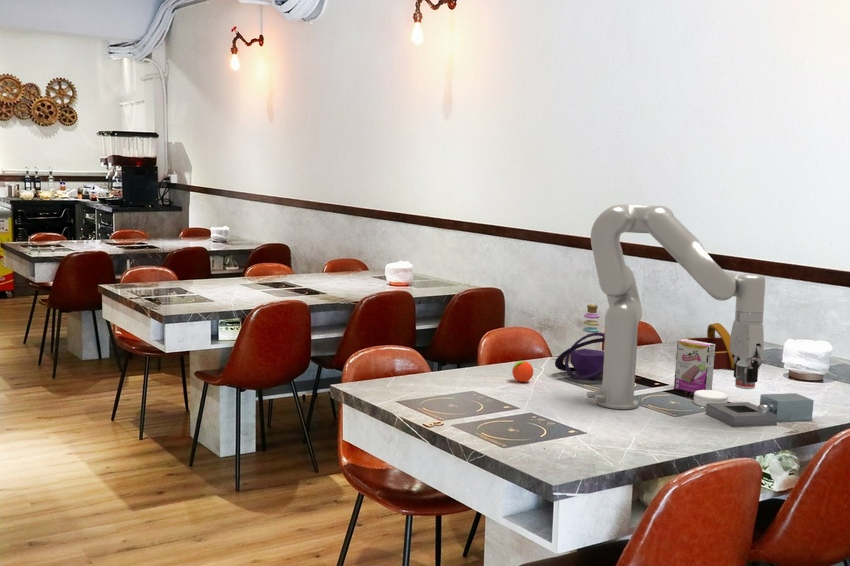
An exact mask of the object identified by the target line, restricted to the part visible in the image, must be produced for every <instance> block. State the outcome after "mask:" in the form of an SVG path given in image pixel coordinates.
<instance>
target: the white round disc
mask: <svg viewBox="0 0 850 566" xmlns="http://www.w3.org/2000/svg"><path fill="white" fill-rule="evenodd" d="M693 395H694V396H693V403H694V405H696V406H697V405H698V406H699V407H703V408H706V404H707V403H729V396H728V394H727V393H726V392H725V393H724V392H723V391H718V390H714V389H712V390H698V391H696V392H694V393H693Z"/></svg>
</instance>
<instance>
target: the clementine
mask: <svg viewBox="0 0 850 566" xmlns="http://www.w3.org/2000/svg"><path fill="white" fill-rule="evenodd" d="M511 372H512V377H513V378H514V379H515V380H516V381H517V382H520V383H526V382H528V381H530V380H531V379H532V378H533V375H534V368H533V366H532V365H531V363H529V361H525V360H521V361H517V362H516V363H515V364H514V365H513V368H512V371H511Z"/></svg>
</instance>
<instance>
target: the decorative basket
mask: <svg viewBox="0 0 850 566" xmlns="http://www.w3.org/2000/svg"><path fill="white" fill-rule="evenodd" d="M716 332H717V334H718V335H719V336H720V337H716ZM706 333H707V335H706V336H707V337H686V338H685V337H684V338H682V339H688V340H694V341H699V342H705V343H711V344H715V356H714V368H713V370H728V369H730V368H731V370H734V363H733V360H734V359H733V357H732V354H731V352H730V338H731V334H730V333H729V331H728V330H727V329H726V328H725V327H724V326H723V325H722V324H721V323H719V322H715V323H711V324H709V325H708V326H707V330H706ZM754 361H755V360H753V362H754Z"/></svg>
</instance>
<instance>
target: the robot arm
mask: <svg viewBox="0 0 850 566" xmlns="http://www.w3.org/2000/svg"><path fill="white" fill-rule="evenodd" d="M623 233H631V234H649V235H650V236H652V237H653V239H654V240H655V241H656V242H657V243H659V245H661V247H662V248H664V250H665V251H666V252H668V254H669V255H670V256H671V257H672V258H674V260H675V261H676V262H677V263H678V264H679V266H681V268H683V269H684V270H685V271H686V272H687V273H688V275H690V277H691V278H693V280H694V281H695V283H697V284H698V285H699V286H700V287H701V288H702V289H703V290H704V291H705V292H706V293H707V294H708V295H709V296H710V297H711V298H712V299H715V300H717V301H723V302H724V301H727V300H728V301H729V299H731V298H733V297H735V310H734V311H735V313H734V314H735V315H734V320H733V322H732V327H731V331H730V336H731V338H730V352H731V354H732V357H733V359H734V360H733V363H734V369H733V378H735V379H736V364H737V362H738V361H739V360H740V359H739V357H742V358H745V359H748V365H749V368H748V369H747V382H748V383H753V382H755V383H758V375H759V369H760V367H761V366H762V363H764V361H766V359H765V356H764V347H765V346H764V345H765V341H764V340H765V337H764V325H763V323H764V310H765V309H764V307H765V292H766V291H765V290H766V278H765V276H763V275H761V274H756V273H741V274H740V273H734V272H730V271H725V270H724V269H723V268H722V267H721V266H720V265H718V263H717V262H716V261H715V260H714V259H713V258H712V257H711V256H710V255H709V254H708V252H707V250H705V247H704V246H703V244H702V243H701V241H700V240H699V239H698V237H696V236H695V235H694V234H693V233H692V232H691V231H690V230H689V229H688V228H687V227H686V226H685V225H684V224H683V223H682V221H681V222H680V220H679V219H678V218H677V217H676V216H675V215H674V212H673V211H672V210H671V209H670V208H669V207H667V206H664V205H640V204H639V205H638V204H636V205H635V204H616V205H611V206H610V207H608V208H606V209H605V210H604V211H602V212H601V213H600V214H599V215H598V217H596V219H595V221H594V222H593V224H592V227H591V231H590V245H591V249H592V250H591V251H592V254H593V259H594V260H593V261H594V264H595V265H594V266H595V269H596V274H597V277H598V284H599V288H600V289H601V291H602V293H604V294H605V295H606V298H607V303H608V305H609V306H608V308H607V310H606V313H605V316H604V317H605V318H604V334H605V342H604V346H603V351H604V363H603V373H602V381H601V387H598V390H596V391H587V392H586V398H587V399H594V400H595V403H596V404H597V405H598V406H601V407H603V408H608V409H613V410H614V409H616V410H633V409H636V408H639V401H638V400H637V399H634V398H635V397H634V396H635V385H636V371H637V370H636V367H637V353H638V350H637V349H638V328H639V327H638V326H639V322H640V321H641V319H642V316H643V308H642V303H641V300H640V299H641V298H640V295H639V291H638V287H637V282H636V279H635V274H634V272H633V271H632V269H631V268H630V266H628V265H626V262H625V258H624V252H623V249H622V245H621V242H620V238H621V235H622V234H623ZM753 356H754V358H751V357H753ZM752 360H754V361H753V363H752Z"/></svg>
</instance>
